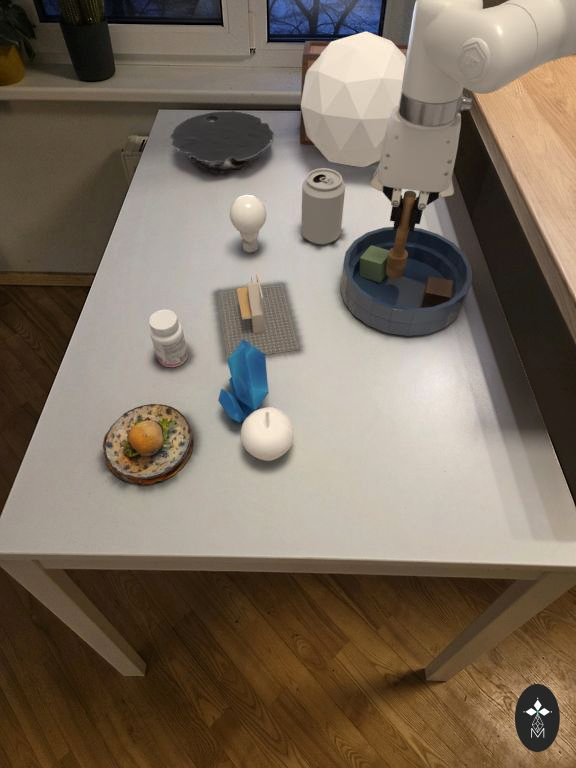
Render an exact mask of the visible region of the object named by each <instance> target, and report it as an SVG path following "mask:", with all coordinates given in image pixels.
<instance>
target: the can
mask: <svg viewBox="0 0 576 768" xmlns="http://www.w3.org/2000/svg"><path fill="white" fill-rule="evenodd" d="M345 193H346V184H345V182H344V180H343V176H342V174H341V173H340V172H339V171H337V170H335V169H333V168H329V167H328V168H326V167H321V168H320V167H319V168H315V169H312V170H311V171H309V172H308V173H307V175H306V178H305V179H304V180H303V182H302V186H301V222H300V223H301V224H300V225H301V226H300V227H301V228H300V232H301V235H302V236H303V237H304V238H305V239H306V240H308V241H309V242H311V243H313V244H315V245H327V244H330V243H332V242H334V241H336V240H337V239H339V237H340V236H341V235H342V234H341V232H342V224H343V216H344V215H343V214H344V204H345V195H346V194H345Z"/></svg>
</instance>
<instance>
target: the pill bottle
mask: <svg viewBox="0 0 576 768" xmlns="http://www.w3.org/2000/svg"><path fill="white" fill-rule="evenodd" d="M148 323H149V336H150V339H151V341H152V345H153V348H154V351H155V354H156V357H157V360H158V362H159V363H160V364H161V365H162V366H164V367H168V368H175V367H179V366H182V365H183V364H184V363H186V361H187V359H188V357H189V350H188V346H187V342H186V338H185V333H184V329H183V326H182V324H181V322H179V320H178V315H177V314H176V313H175V312H174V311H173V310H170V309H159V310H156V311H155V312H153V313H152V314H151V315H150V316H149V320H148Z"/></svg>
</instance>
